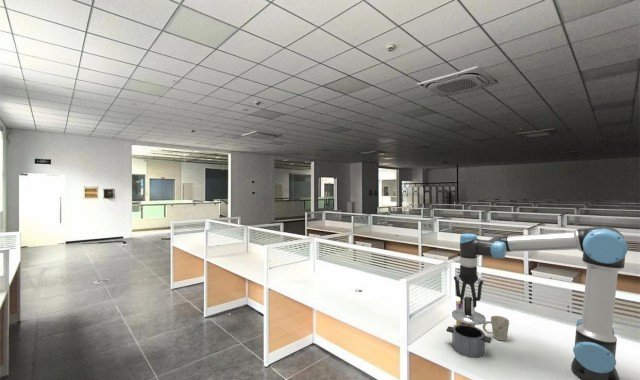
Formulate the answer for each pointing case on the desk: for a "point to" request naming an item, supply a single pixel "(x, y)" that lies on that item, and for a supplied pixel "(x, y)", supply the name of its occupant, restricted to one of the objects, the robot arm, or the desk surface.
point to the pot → (468, 340)
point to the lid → (468, 314)
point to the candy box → (459, 306)
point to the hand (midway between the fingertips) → (468, 312)
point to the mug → (498, 327)
